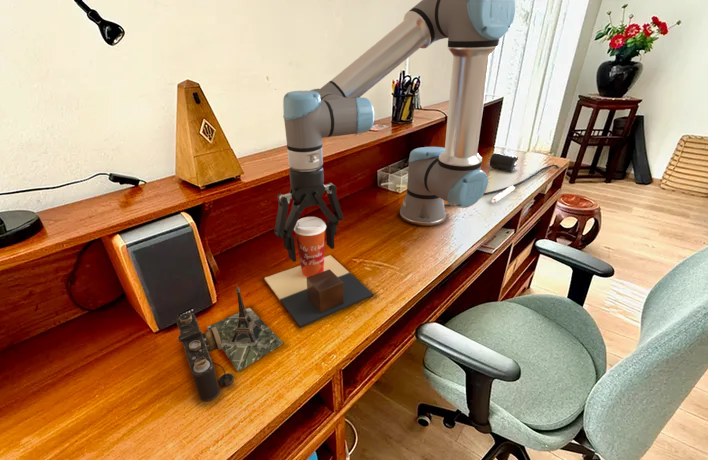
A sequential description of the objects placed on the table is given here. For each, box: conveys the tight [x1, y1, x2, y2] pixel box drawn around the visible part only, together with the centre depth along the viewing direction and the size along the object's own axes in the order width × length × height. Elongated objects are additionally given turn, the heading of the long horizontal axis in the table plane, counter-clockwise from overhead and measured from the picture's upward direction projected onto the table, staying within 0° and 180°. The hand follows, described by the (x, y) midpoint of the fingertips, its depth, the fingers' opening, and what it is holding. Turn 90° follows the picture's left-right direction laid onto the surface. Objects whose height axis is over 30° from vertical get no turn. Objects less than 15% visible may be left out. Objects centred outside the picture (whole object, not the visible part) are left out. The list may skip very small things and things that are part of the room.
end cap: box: [489, 152, 519, 173], centre depth 161 cm, size 10×7×7 cm
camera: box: [176, 312, 235, 403], centre depth 66 cm, size 16×7×8 cm, turn 33°
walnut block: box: [306, 269, 344, 313], centre depth 81 cm, size 6×6×6 cm
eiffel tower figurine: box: [206, 285, 285, 373], centre depth 70 cm, size 15×10×13 cm
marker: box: [490, 185, 516, 204], centre depth 135 cm, size 18×2×2 cm, turn 136°
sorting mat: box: [263, 254, 374, 329], centre depth 88 cm, size 19×20×1 cm
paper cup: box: [293, 216, 326, 277], centre depth 89 cm, size 8×8×14 cm
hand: (312, 252), depth 90 cm, fingers open, 10 cm apart
